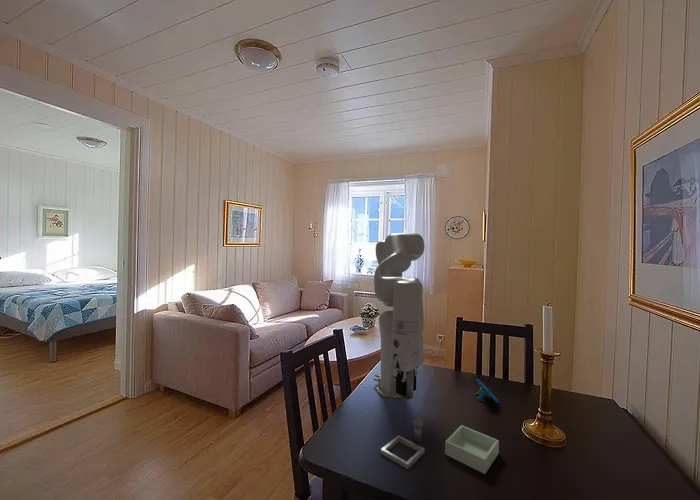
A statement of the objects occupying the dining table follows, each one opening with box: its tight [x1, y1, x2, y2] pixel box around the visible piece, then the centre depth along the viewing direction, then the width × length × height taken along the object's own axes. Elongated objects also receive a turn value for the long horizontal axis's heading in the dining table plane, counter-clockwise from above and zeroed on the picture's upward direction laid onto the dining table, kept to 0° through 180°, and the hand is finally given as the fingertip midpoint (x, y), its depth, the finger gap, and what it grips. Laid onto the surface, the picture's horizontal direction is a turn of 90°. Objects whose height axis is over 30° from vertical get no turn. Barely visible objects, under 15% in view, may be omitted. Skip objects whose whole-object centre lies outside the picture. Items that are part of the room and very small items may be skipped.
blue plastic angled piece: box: [475, 378, 500, 404], centre depth 114 cm, size 11×6×10 cm
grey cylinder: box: [399, 367, 414, 401], centre depth 84 cm, size 4×4×9 cm
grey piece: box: [380, 417, 425, 470], centre depth 86 cm, size 9×14×6 cm, turn 137°
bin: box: [444, 424, 500, 475], centre depth 84 cm, size 11×11×4 cm
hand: (406, 391), depth 84 cm, fingers closed on grey cylinder, 4 cm apart
